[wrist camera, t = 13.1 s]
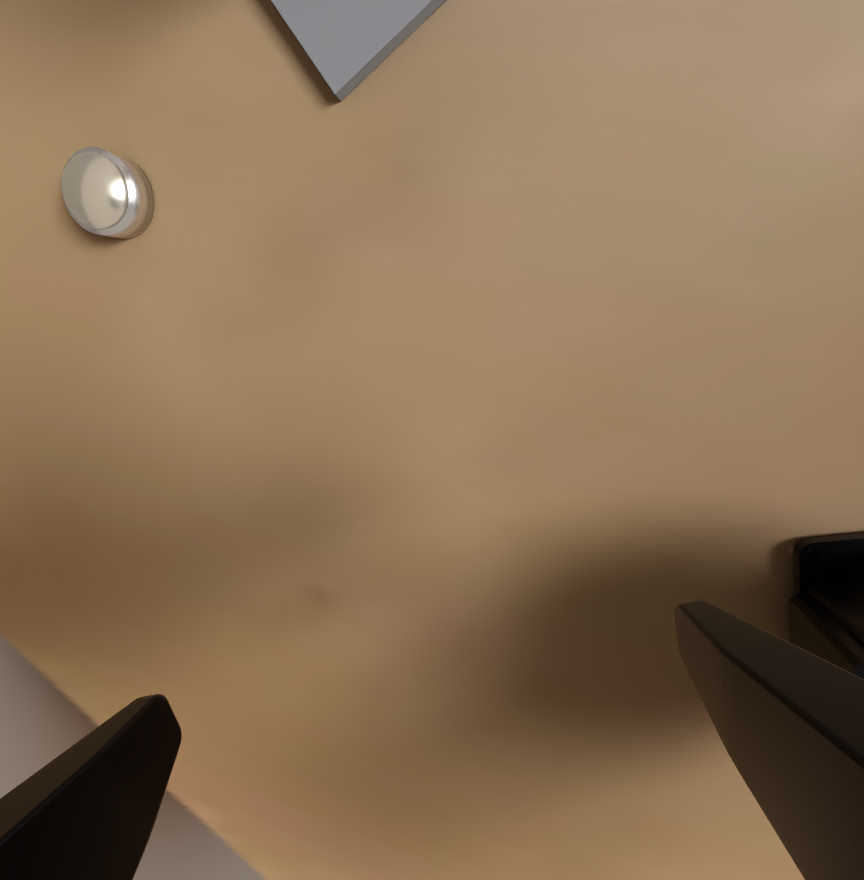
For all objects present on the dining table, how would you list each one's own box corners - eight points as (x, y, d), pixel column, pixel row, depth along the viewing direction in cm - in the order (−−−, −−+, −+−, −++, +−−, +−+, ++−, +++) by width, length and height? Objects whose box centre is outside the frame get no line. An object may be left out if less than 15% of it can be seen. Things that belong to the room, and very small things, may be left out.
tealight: (140, 147, 19) (113, 135, 18) (163, 229, 20) (140, 223, 18) (74, 166, 20) (45, 157, 18) (100, 246, 20) (73, 242, 19)
